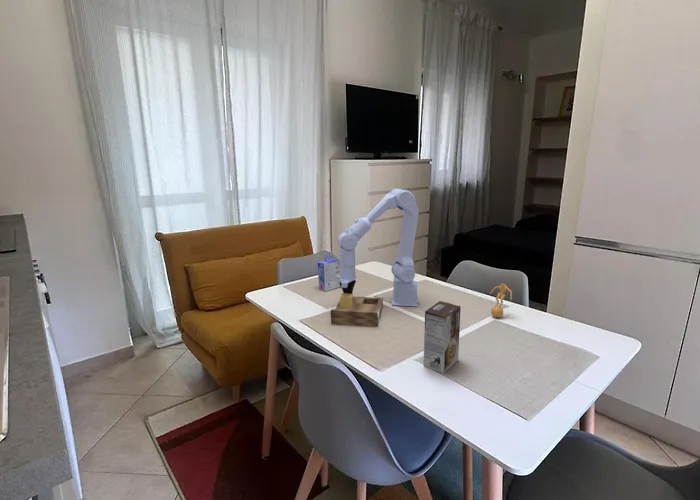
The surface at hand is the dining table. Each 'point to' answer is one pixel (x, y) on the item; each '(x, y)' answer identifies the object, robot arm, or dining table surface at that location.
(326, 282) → the ink cartridge box
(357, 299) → the board
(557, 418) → the dining table surface
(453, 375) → the dining table surface
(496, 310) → the figurine
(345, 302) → the cube
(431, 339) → the coffee box
